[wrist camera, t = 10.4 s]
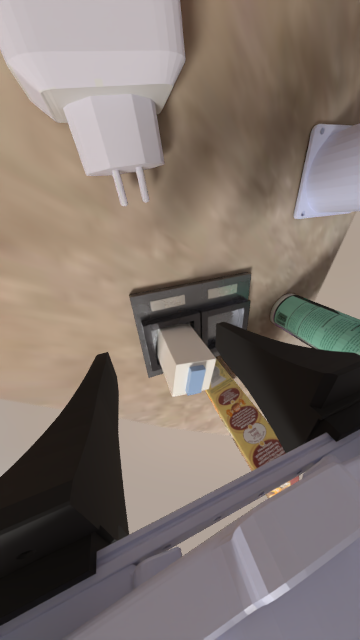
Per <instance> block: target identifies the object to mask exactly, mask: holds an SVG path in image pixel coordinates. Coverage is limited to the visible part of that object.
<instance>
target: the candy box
mask: <svg viewBox="0 0 360 640" xmlns="http://www.w3.org/2000/svg"><path fill="white" fill-rule="evenodd" d="M215 358H216V357H215ZM205 391H206V393H207V395H208V397H209V399H210V400H211V402H212V404H213V406H214V407H215V409H216V411H217V413H218V414H219V416H220V418H221V420H222V421H223V423H224V425H225V427H226V428H227V430H228V432H229V433H230V435H231V437H232V438H233V440H234V442H235V443H236V445H237V447H238V449H239V451H240V452H241V454H242V456H243V457H244V459H245V461H246V462H247V464H248V466H249V467H250V469H251V471H253V470H255V469H257V468H259V467H261V466H263V465H265V464H266V463H268V462H270V461H272V460H274V459H276V458H278V457H280V456H282V455H284V454H286V453H285V451H284V449H283V447H282V446H281V444H280V442H279V440H278V438H277V437H276V435H275V433H274V431H273V429H272V428H271V426H270V424H269V423H268V422H267V421H266V419H265V418H264V417H263V416H262V414H261V413H260V412H259V411H258V409H257V408H256V407H255V406H254V405H253V403H252V402H251V401H250V400H249V399H248V397H247V396H246V395H245V394H244V392H243V391H242V390H241V389H240V387H239V386H238V385H237V384H236V382H235V381H234V380H233V379H232V377H231V376H230V375H229V374H228V372H227V371H226V370H225V369H224V367H223V366H222V365H221V364H220V362H219V361H218V360H217V359H216V362H215V366H214V370H213V374H212V378H211V382H210V386H209V389H207V390H205ZM298 481H299V476H297V477H295V478H293V479H292V480H290V481H288V482H286V483H285V484H283V485H281V486H279V487H278V488H276V489H274V490H272V491H271V492H269V493H267V494H266V495H267V497H268V498H270V497H272V496H274V495H275V494H277V493H279V492H281V491H282V490H284V489H286V488H287V487H289V486H291V485H293V484H294V483H296V482H298Z"/></svg>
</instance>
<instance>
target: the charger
mask: <svg viewBox="0 0 360 640" xmlns="http://www.w3.org/2000/svg"><path fill="white" fill-rule="evenodd" d="M0 50H1V52H2V55H3V57H4V59H5V62H6V64H7V66H8V68H9V69H10V71H11V72H12V74H13V75H14V77H15V78H16V80H17V81H18V83H19V84H20V86H21V87H22V89H23V91H24V92H25V94H26V95H27V97H28V98H29V100H30V101H31V102H32V103H34V104H35V105H36V106H37V107H38V108H40V109H41V110H42V111H43V112H45V113H46V114H47V115H48V116H49V117H51V118H52V119H53V120H54V121H56V122H59V123H68V124H69V127H70V130H71V133H72V136H73V139H74V141H75V144H76V147H77V150H78V153H79V156H80V159H81V162H82V164H83V167H84V170H85V173H86V175H88V176H104V175H113V178H114V182H115V185H116V189H117V192H118V196H119V199H120V203H121V205H122V206H127V205H128V202H127V198H126V195H125V191H124V187H123V183H122V180H121V176H120V174H123V173H130V172H136V173H137V178H138V182H139V186H140V191H141V195H142V199H143V202H148V201H149V196H148V191H147V186H146V182H145V177H144V172H143V170H146V169H150V168H154V167H158V166H161V165H164V157H163V151H162V145H161V139H160V133H159V126H158V120H157V114H159V113H161V111H162V109H163V107H164V105H165V103H166V101H167V99H168V97H169V95H170V93H171V91H172V88H173V86H174V84H175V82H176V80H177V78H178V76H179V74H180V72H181V69H182V67H183V65H184V63H185V49H184V38H183V27H182V16H181V5H180V0H0Z"/></svg>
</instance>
